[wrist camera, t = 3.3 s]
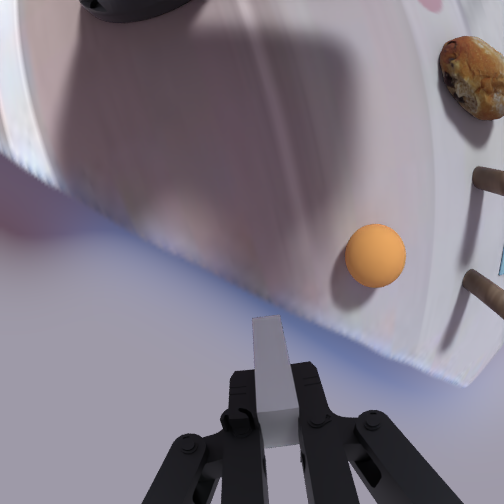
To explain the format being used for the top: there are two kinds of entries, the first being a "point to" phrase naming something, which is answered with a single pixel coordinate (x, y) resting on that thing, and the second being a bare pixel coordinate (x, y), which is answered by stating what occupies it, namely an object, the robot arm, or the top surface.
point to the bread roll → (474, 76)
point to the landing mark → (502, 265)
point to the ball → (375, 255)
